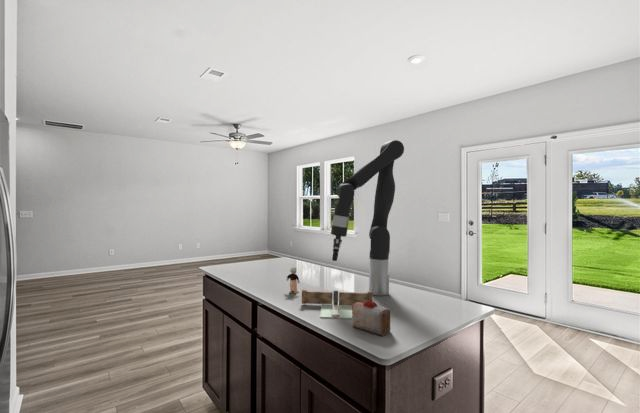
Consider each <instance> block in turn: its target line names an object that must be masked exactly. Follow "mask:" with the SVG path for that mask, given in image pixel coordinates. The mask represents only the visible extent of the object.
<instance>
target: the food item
mask: <svg viewBox="0 0 640 413" xmlns="http://www.w3.org/2000/svg"><path fill="white" fill-rule="evenodd" d="M391 311H392V310H391V309H390V308H387V307H383V306H379V305H378V304H377V302H376V300H373V302H372V301H367V302H365V303H361V302H357V303H355V304H353V305H352V318H353V319H351V320H352V327H353V328H355V327H356V329H360V330H364V331H367V332H369V333H372V334H374V335H375V334H376V335H378V336H381V337H384V336H386V335H387V334H389V333H390V332H391Z"/></svg>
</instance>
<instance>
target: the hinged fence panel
mask: <svg viewBox="0 0 640 413" xmlns="http://www.w3.org/2000/svg"><path fill="white" fill-rule="evenodd" d="M332 301H333V304H334V305H337V304H338V301H339V290H333V291H314V290H313V291H312V290H309V291H308V290H307V289H301V304H302V305H303V304H304V305H305V304H306V305H307V304H311V305H322V304H332Z"/></svg>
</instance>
